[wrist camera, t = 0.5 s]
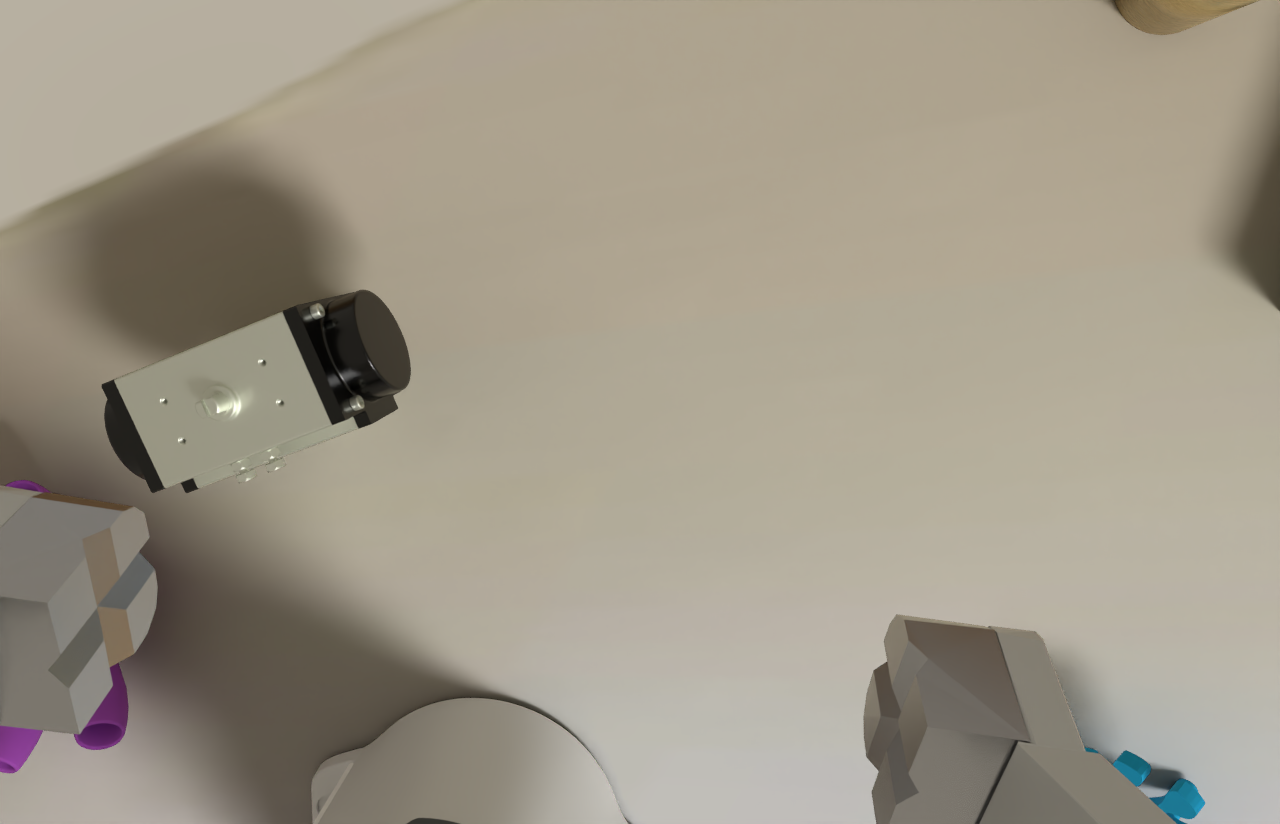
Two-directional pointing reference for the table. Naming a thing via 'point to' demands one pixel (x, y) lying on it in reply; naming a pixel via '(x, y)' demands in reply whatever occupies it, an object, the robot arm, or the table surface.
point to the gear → (1177, 800)
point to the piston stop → (1174, 13)
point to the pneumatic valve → (259, 393)
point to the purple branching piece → (103, 730)
